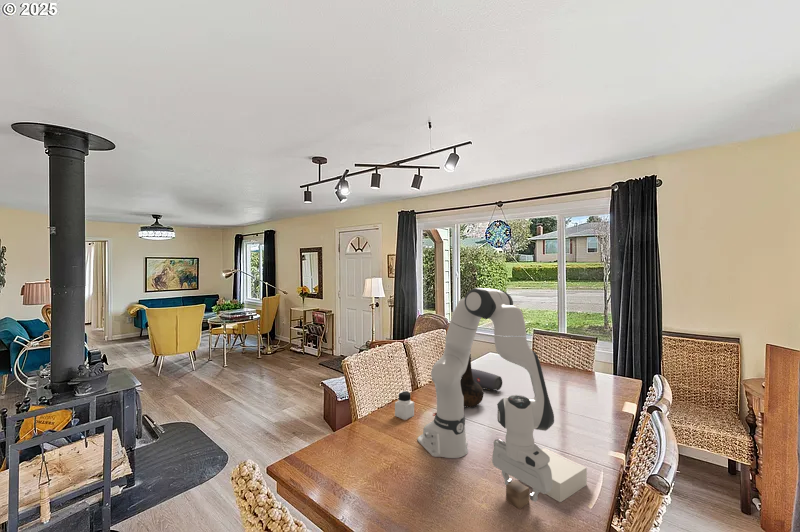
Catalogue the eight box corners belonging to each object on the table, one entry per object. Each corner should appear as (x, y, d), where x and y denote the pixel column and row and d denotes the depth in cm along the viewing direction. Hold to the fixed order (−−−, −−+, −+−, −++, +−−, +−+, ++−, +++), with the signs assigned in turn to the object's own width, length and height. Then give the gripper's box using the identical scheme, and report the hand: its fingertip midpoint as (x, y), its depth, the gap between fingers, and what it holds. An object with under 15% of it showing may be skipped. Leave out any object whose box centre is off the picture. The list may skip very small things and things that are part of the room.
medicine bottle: (414, 415, 176) (414, 392, 176) (405, 420, 171) (405, 396, 171) (404, 411, 181) (404, 388, 181) (394, 416, 176) (394, 392, 176)
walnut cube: (506, 500, 112) (506, 485, 112) (515, 494, 115) (515, 479, 115) (519, 509, 108) (519, 493, 108) (529, 503, 111) (529, 487, 111)
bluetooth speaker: (463, 384, 223) (463, 369, 223) (472, 381, 230) (472, 366, 230) (494, 394, 207) (494, 377, 207) (502, 390, 213) (502, 374, 213)
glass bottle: (478, 398, 200) (478, 349, 200) (487, 411, 182) (487, 357, 182) (448, 398, 199) (448, 349, 200) (453, 411, 182) (453, 357, 182)
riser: (518, 477, 124) (518, 460, 124) (544, 463, 133) (544, 447, 133) (560, 502, 111) (560, 483, 111) (586, 485, 120) (586, 467, 120)
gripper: (487, 439, 118) (488, 480, 118) (543, 466, 102) (543, 514, 102) (499, 434, 122) (500, 473, 122) (554, 459, 105) (555, 505, 105)
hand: (520, 492), depth 112 cm, fingers open, 8 cm apart
